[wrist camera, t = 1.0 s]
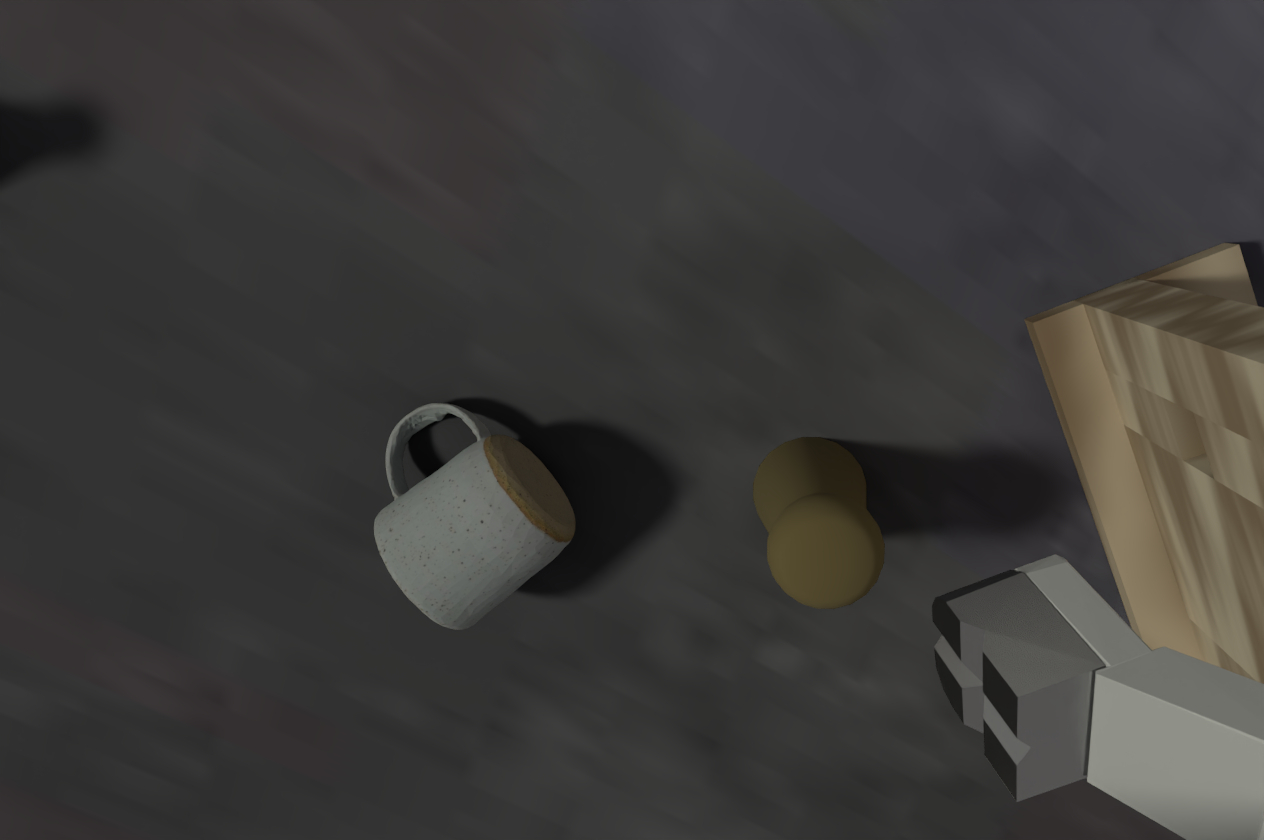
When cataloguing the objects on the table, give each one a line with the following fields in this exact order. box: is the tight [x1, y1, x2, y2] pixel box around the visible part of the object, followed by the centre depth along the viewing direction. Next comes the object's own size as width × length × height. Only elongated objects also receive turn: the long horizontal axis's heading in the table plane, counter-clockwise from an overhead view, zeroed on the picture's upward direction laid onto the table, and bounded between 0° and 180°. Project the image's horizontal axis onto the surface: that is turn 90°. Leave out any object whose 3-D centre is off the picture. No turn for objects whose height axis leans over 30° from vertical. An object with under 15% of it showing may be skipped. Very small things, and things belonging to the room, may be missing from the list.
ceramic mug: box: [374, 403, 576, 630], centre depth 54 cm, size 11×8×8 cm
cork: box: [753, 437, 885, 609], centre depth 50 cm, size 6×6×11 cm
